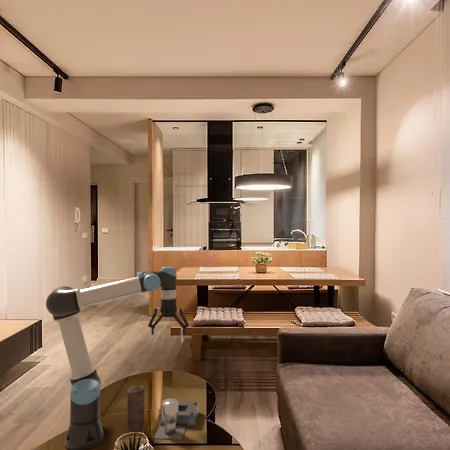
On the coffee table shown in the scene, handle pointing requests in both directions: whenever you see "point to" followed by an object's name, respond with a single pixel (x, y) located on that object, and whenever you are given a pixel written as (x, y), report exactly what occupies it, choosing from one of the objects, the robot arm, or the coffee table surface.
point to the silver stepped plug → (170, 415)
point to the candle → (135, 409)
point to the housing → (186, 414)
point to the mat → (176, 436)
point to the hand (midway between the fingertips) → (168, 341)
